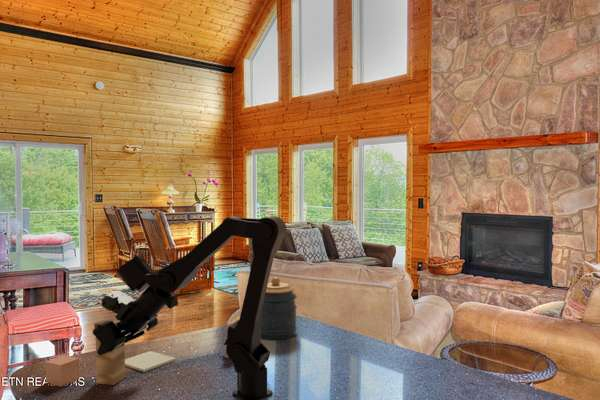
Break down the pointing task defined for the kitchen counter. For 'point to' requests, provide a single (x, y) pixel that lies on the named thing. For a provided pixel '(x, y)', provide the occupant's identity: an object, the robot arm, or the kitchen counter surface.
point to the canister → (278, 311)
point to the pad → (148, 361)
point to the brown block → (110, 362)
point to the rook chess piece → (225, 346)
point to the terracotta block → (62, 370)
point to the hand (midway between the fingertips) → (105, 350)
